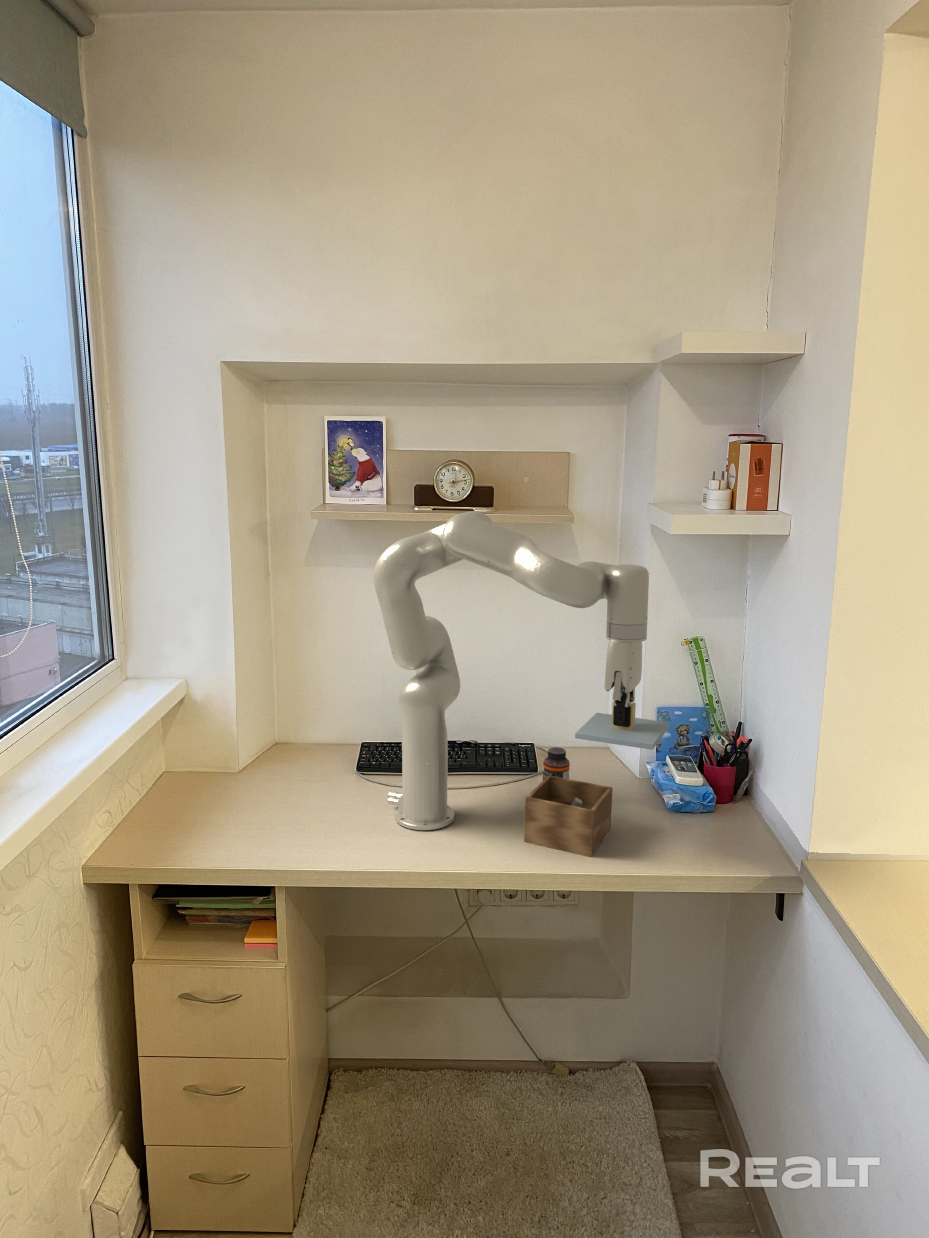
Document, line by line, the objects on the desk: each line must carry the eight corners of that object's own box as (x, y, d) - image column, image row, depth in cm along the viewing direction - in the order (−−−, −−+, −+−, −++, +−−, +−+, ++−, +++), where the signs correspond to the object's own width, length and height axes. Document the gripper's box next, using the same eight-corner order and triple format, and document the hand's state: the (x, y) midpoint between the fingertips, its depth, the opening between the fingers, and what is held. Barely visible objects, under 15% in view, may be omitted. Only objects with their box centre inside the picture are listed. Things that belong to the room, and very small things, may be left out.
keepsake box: (524, 841, 173) (525, 797, 171) (547, 816, 185) (548, 775, 183) (591, 857, 167) (593, 811, 165) (610, 830, 179) (612, 787, 177)
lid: (575, 738, 164) (575, 708, 162) (596, 717, 176) (597, 689, 175) (652, 749, 157) (653, 718, 156) (669, 727, 170) (670, 698, 168)
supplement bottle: (537, 799, 194) (539, 751, 191) (547, 789, 199) (549, 743, 196) (562, 804, 191) (564, 756, 188) (572, 795, 196) (574, 748, 194)
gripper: (618, 621, 171) (615, 709, 175) (594, 637, 157) (592, 733, 161) (656, 624, 168) (652, 714, 172) (635, 641, 154) (631, 739, 158)
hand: (623, 723), depth 166 cm, fingers closed on lid
